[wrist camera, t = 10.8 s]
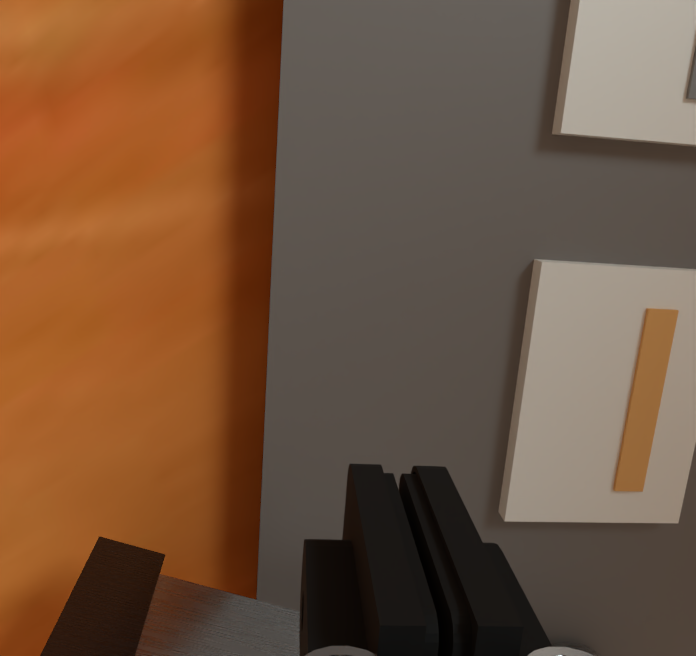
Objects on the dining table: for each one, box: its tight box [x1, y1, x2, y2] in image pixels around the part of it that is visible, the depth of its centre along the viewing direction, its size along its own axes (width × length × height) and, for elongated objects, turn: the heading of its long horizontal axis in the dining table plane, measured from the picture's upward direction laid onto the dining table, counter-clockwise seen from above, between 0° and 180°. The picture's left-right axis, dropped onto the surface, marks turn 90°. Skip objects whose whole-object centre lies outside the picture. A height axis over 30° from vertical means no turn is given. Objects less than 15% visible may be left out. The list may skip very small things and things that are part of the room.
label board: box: [257, 0, 696, 656], centre depth 17 cm, size 26×18×2 cm
